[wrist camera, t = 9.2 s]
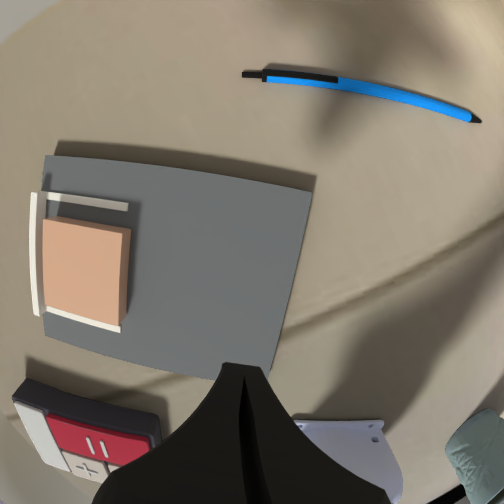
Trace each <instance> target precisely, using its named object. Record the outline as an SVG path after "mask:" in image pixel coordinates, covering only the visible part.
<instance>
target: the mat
mask: <svg viewBox="0 0 504 504" xmlns="http://www.w3.org/2000/svg"><path fill="white" fill-rule="evenodd" d="M311 197H312V192H307V191H303V190H298V189H293V188H289V187H284V186H279V185H274V184H269V183H264V182H258V181H253V180H248V179H242V178H236V177H231V176H225V175H219V174H213V173H207V172H200V171H194V170H187V169H180V168H173V167H165V166H158V165H150V164H142V163H133V162H124V161H114V160H104V159H93V158H81V157H67V156H51V155H45V162H44V170H43V178H42V188H41V191H36V192H31V204H30V229H29V252H30V277H31V291H32V302H33V311H34V315H37V316H41V315H42V314H43V322H44V330H45V336H48V337H51V338H54V339H56V340H59V341H62V342H65V343H68V344H71V345H74V346H77V347H80V348H83V349H86V350H89V351H92V352H96V353H99V354H102V355H106V356H109V357H112V358H116V359H120V360H123V361H127V362H131V363H135V364H139V365H143V366H147V367H151V368H155V369H160V370H164V371H169V372H173V373H178V374H183V375H188V376H193V377H199V378H204V379H210V380H216V379H217V377H218V375H219V373H220V370H221V367H222V364H223V363H224V362H231V363H237V364H244V365H251V366H259V367H260V368H261V369H262V371H263V373H264V375H265V377H266V379H268V375H269V372H270V368H271V365H272V361H273V357H274V353H275V350H276V346H277V342H278V338H279V335H280V331H281V327H282V323H283V319H284V315H285V311H286V307H287V303H288V299H289V295H290V291H291V287H292V283H293V279H294V274H295V270H296V266H297V261H298V257H299V253H300V248H301V244H302V239H303V235H304V230H305V226H306V221H307V216H308V212H309V207H310V202H311ZM53 216H60V217H65V218H71V219H77V220H82V221H88V222H94V223H99V224H105V225H111V226H116V227H122V228H128V229H131V239H130V251H129V264H128V281H127V306H126V317H125V319H124V320H123V321H122V322H121V324H120V325H119V326H116V325H112V324H108V323H104V322H101V321H97V320H93V319H90V318H86V317H83V316H80V315H76V314H73V313H70V312H66V311H63V310H60V309H57V308H54V307H51V306H48V305H45V299H44V284H43V252H42V243H43V219H45V218H49V217H53Z"/></svg>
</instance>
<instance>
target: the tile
mask: <svg viewBox="0 0 504 504" xmlns="http://www.w3.org/2000/svg"><path fill="white" fill-rule="evenodd" d="M130 239H131V229H128V228H122V227H116V226H111V225H105V224H99V223H94V222H88V221H82V220H77V219H71V218H65V217H60V216H53V217H49V218H45V219H43V243H42V252H43V284H44V299H45V305H48V306H51V307H54V308H57V309H60V310H63V311H66V312H70V313H73V314H76V315H80V316H83V317H86V318H90V319H93V320H97V321H101V322H104V323H108V324H112V325H116V326H119V325H120V324H121V322H122V321H123V320H124V319H125V317H126V306H127V281H128V264H129V251H130Z"/></svg>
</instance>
